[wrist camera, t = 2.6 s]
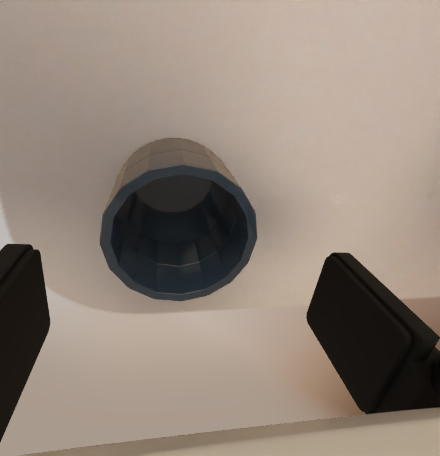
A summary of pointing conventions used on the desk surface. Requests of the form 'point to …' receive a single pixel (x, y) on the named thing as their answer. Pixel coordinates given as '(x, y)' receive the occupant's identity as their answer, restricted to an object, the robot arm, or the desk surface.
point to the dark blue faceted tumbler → (177, 222)
